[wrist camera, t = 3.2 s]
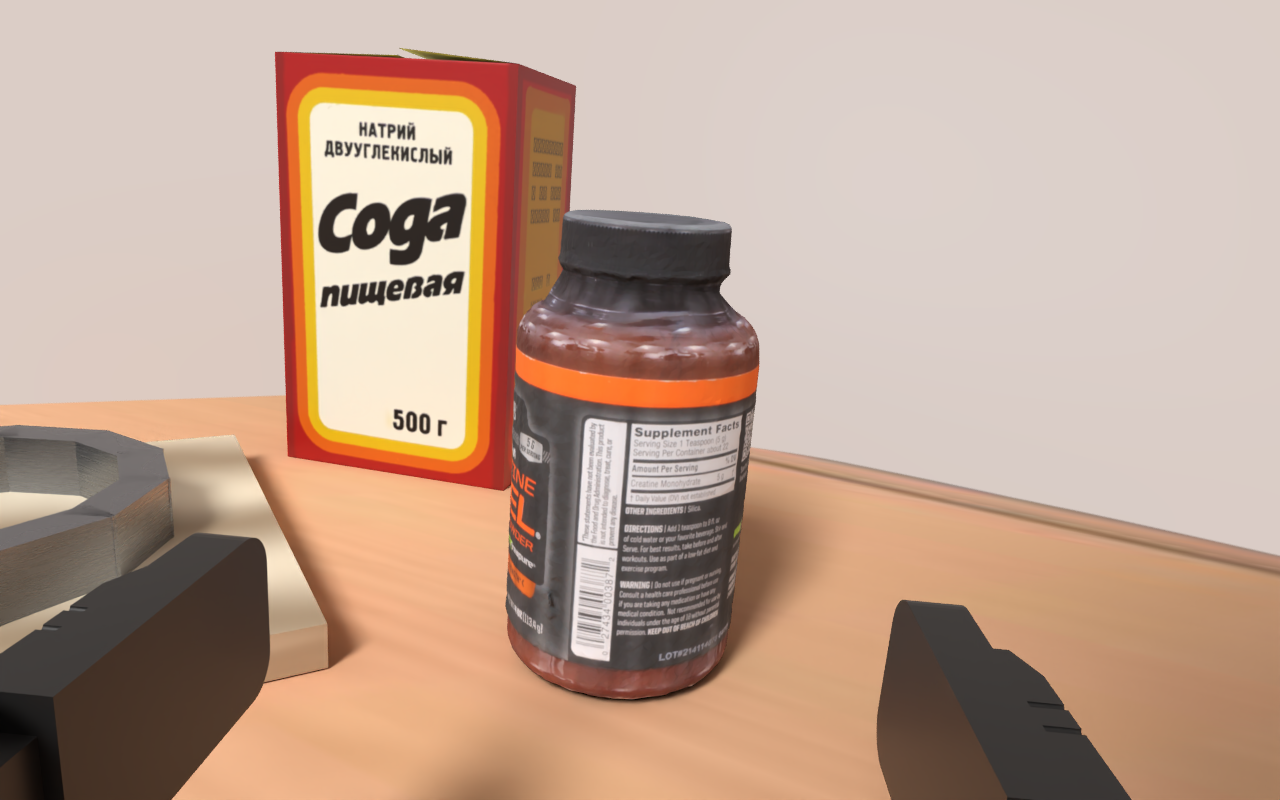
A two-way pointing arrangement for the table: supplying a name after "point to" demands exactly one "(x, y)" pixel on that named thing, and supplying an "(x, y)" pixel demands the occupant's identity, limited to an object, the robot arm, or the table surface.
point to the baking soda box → (414, 253)
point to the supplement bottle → (629, 457)
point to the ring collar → (79, 513)
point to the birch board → (218, 504)
